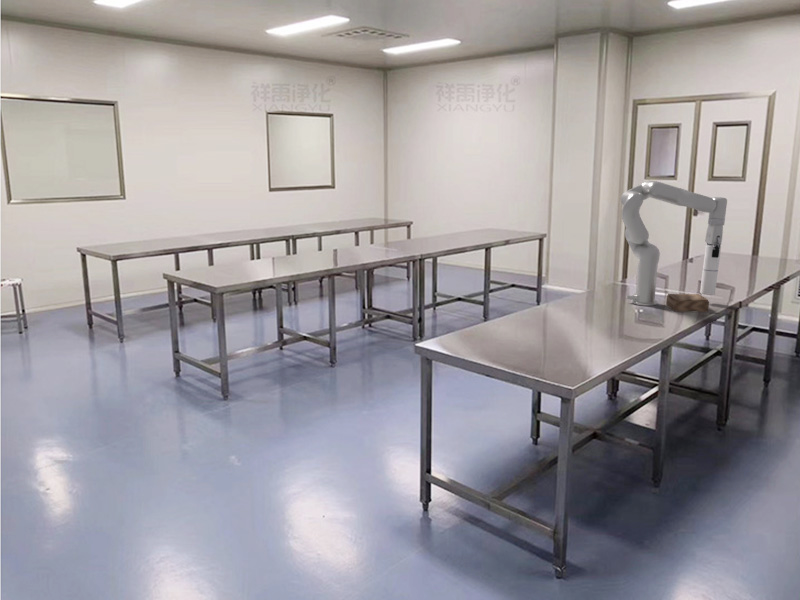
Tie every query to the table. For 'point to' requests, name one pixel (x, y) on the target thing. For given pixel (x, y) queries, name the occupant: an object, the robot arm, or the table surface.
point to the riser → (687, 302)
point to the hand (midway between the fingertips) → (712, 255)
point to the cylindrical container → (709, 271)
